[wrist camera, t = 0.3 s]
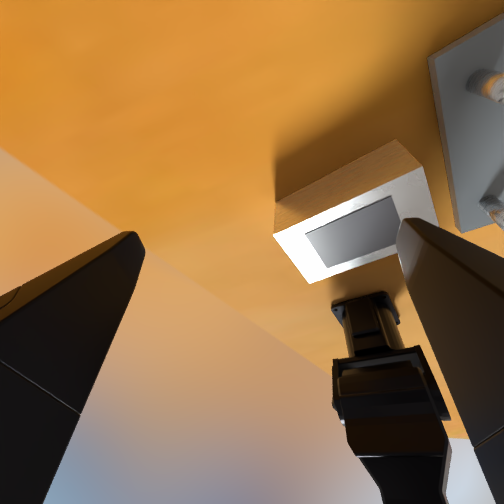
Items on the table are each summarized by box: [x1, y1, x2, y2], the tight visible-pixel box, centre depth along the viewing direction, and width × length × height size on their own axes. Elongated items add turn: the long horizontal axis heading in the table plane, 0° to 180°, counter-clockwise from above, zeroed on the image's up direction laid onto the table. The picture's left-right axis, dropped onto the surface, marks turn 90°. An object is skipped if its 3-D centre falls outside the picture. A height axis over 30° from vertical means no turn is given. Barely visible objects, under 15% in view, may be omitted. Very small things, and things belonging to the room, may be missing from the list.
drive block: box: [274, 139, 439, 283], centre depth 20 cm, size 6×10×5 cm, turn 124°
